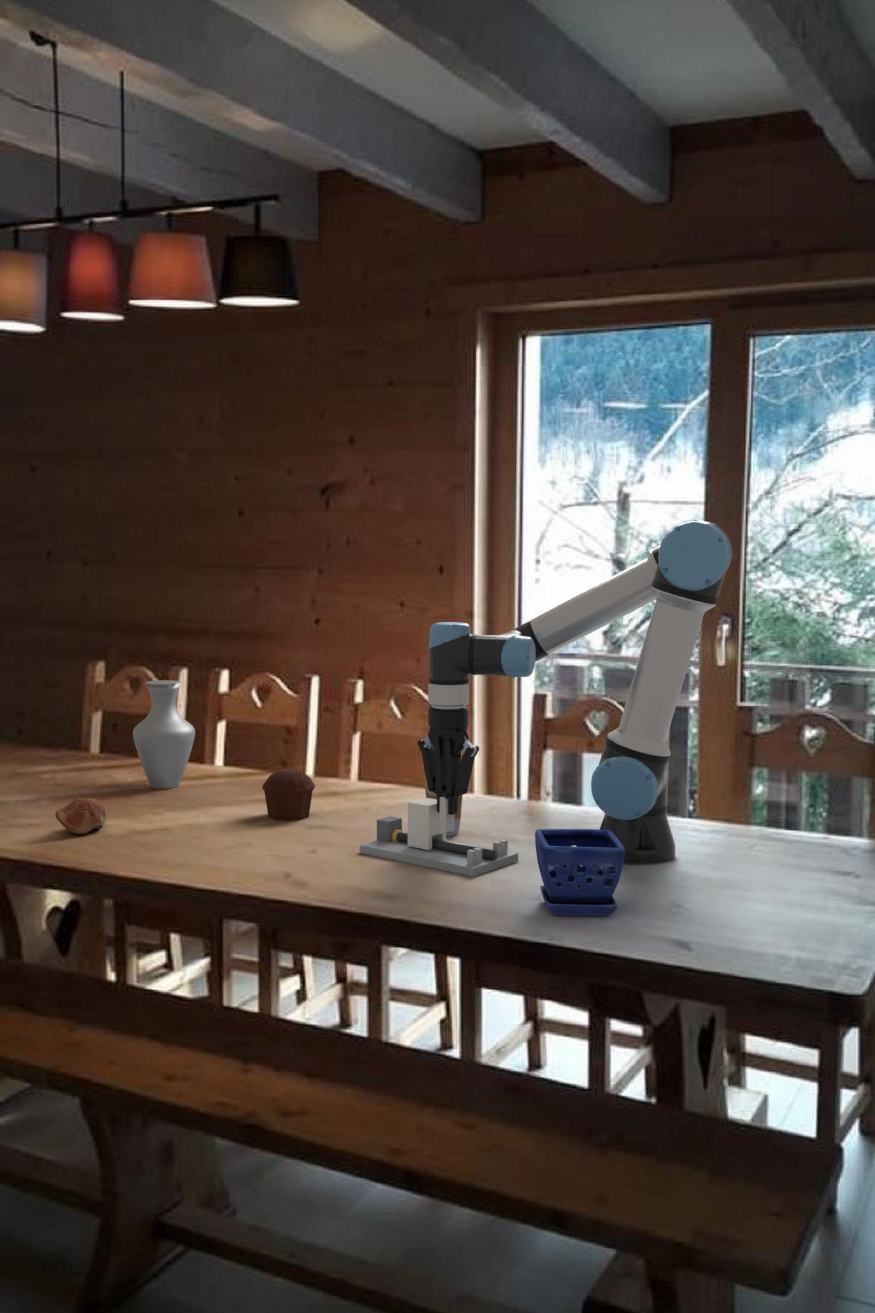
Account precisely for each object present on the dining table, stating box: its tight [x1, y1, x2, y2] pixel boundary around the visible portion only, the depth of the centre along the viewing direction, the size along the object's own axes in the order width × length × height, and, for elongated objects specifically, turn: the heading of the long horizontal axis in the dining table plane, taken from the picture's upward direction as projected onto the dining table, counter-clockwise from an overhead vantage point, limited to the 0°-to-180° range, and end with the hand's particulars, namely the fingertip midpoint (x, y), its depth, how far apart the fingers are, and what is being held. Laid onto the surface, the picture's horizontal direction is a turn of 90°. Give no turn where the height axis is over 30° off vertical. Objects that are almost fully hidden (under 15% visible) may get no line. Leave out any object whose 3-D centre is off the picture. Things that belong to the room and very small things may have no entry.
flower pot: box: [534, 828, 625, 917], centre depth 213 cm, size 13×13×12 cm
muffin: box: [261, 768, 316, 822], centre depth 279 cm, size 12×11×10 cm
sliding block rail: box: [359, 815, 519, 877], centre depth 246 cm, size 27×14×6 cm, turn 52°
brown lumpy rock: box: [54, 796, 107, 835], centre depth 264 cm, size 13×8×10 cm
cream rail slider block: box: [407, 797, 447, 850], centre depth 247 cm, size 5×5×8 cm
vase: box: [132, 679, 196, 790], centre depth 309 cm, size 14×14×25 cm
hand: (446, 830), depth 244 cm, fingers closed
